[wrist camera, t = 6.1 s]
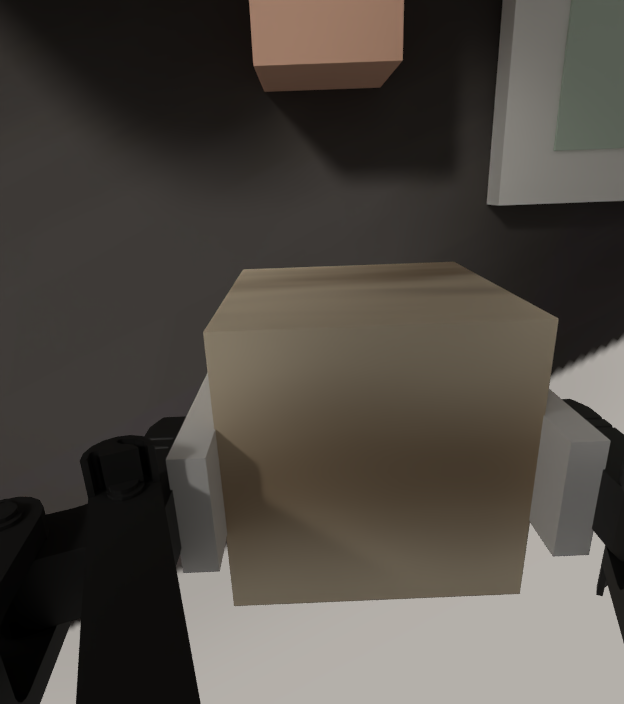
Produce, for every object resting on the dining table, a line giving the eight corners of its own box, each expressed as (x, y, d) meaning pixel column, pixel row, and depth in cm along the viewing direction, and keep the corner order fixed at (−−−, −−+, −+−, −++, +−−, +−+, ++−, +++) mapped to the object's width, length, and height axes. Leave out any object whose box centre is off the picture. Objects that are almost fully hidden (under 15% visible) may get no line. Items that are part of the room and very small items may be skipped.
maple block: (243, 269, 16) (203, 332, 10) (453, 261, 16) (558, 318, 10) (257, 453, 18) (234, 606, 12) (441, 446, 19) (519, 593, 12)
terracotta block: (255, -49, 27) (240, -124, 20) (381, -54, 27) (406, -129, 21) (264, 92, 29) (253, 65, 23) (380, 87, 29) (402, 60, 23)
